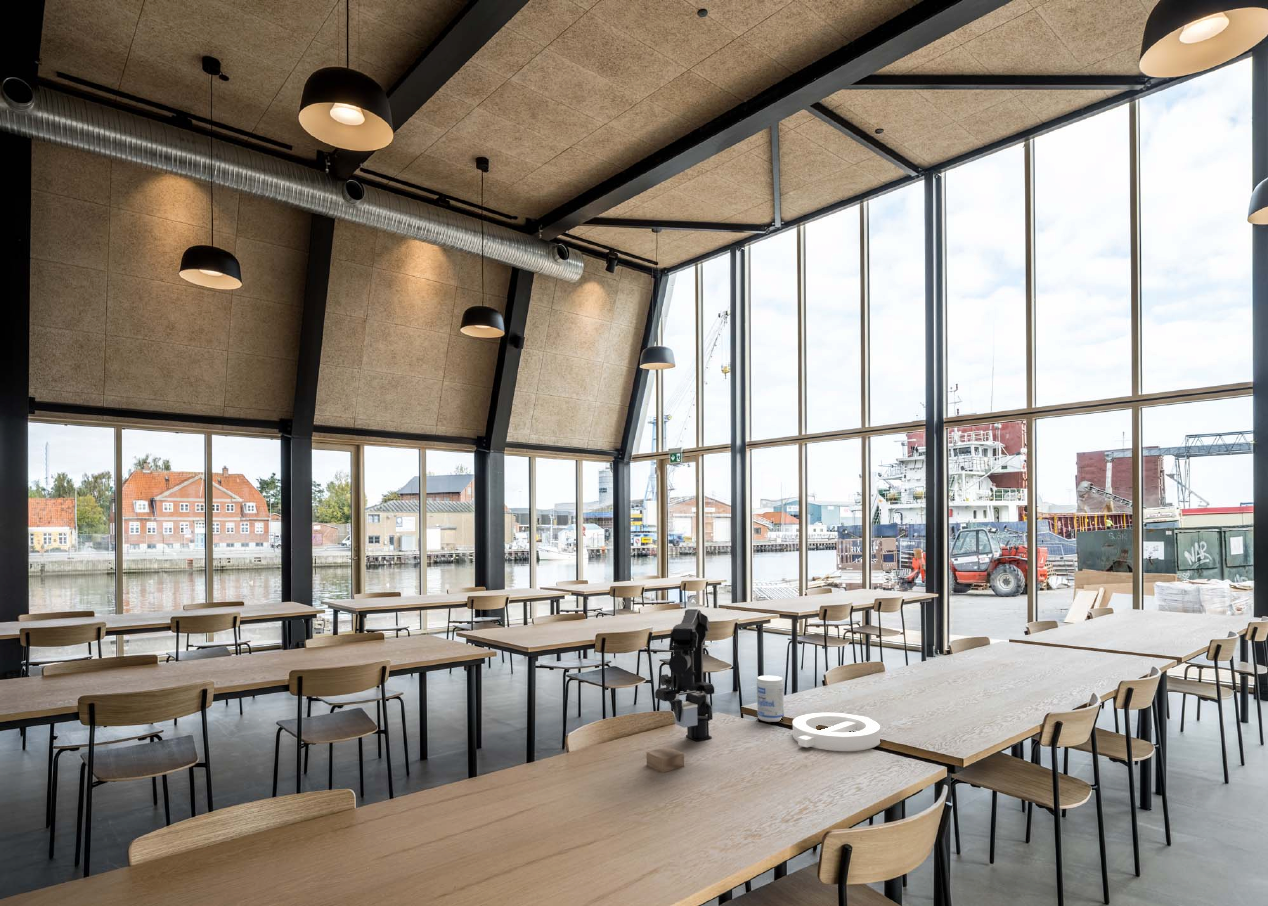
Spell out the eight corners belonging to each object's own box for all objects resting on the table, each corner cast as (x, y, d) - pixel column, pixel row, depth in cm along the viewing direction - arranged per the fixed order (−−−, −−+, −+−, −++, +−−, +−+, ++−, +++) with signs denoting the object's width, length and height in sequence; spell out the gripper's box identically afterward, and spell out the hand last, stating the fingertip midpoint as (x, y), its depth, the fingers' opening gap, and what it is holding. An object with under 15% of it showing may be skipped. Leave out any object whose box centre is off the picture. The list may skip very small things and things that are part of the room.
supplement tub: (755, 721, 256) (753, 679, 257) (760, 714, 264) (758, 674, 266) (782, 723, 252) (780, 681, 254) (786, 716, 261) (784, 675, 263)
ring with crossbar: (869, 726, 247) (868, 712, 248) (890, 752, 220) (889, 736, 220) (788, 726, 250) (787, 712, 251) (798, 751, 222) (798, 736, 223)
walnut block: (668, 760, 217) (667, 746, 217) (684, 767, 210) (683, 753, 210) (646, 765, 212) (646, 752, 212) (662, 773, 206) (662, 759, 206)
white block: (688, 721, 220) (687, 701, 221) (698, 725, 215) (697, 704, 216) (674, 723, 217) (673, 703, 218) (684, 727, 213) (683, 707, 214)
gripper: (693, 660, 230) (695, 710, 228) (645, 667, 220) (646, 719, 219) (714, 666, 220) (716, 717, 219) (664, 673, 211) (665, 727, 209)
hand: (685, 720), depth 217 cm, fingers closed on white block, 5 cm apart
